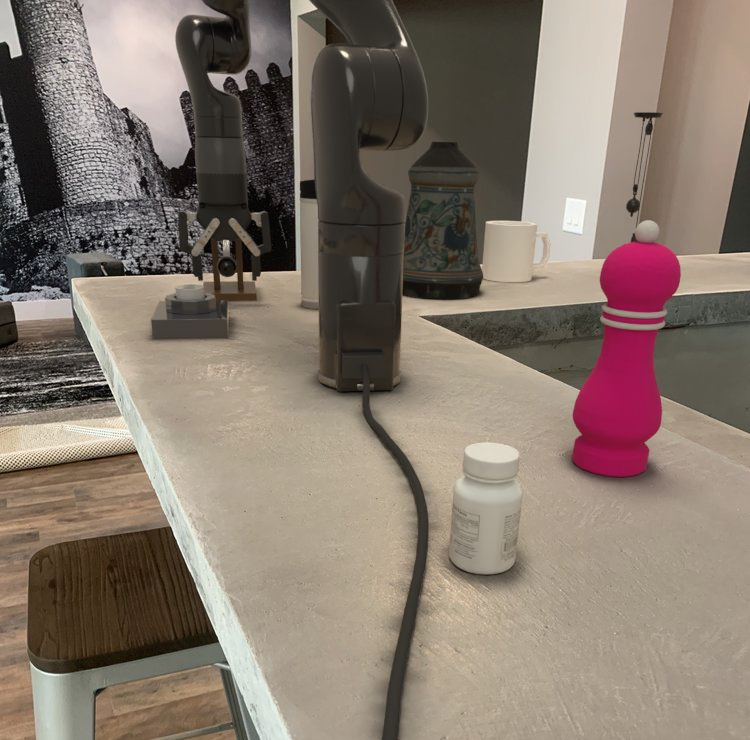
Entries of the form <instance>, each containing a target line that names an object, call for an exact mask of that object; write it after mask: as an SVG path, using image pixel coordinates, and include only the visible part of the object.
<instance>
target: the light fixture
mask: <svg viewBox="0 0 750 740" xmlns="http://www.w3.org/2000/svg"><path fill="white" fill-rule="evenodd" d="M663 114H664V113H663V112H655V111H654V112H651V111H650V112H649V111H648V112H645V111H642V112H641V111H638V112H633V115H634V118H638V119H639V118H640V119H642V127H641V132H640V133H641V134H640V142H639V149H638V154H637V161H636V167H635V170H634V171H635V173H634V177H633V186H632V195H633V197H632V198H630V199H629V200H628V201H627V203H626V205H625V209H626V211H627V212H628V213H629V216H630V218H632V217H633V216H634V214H635V213H637V217H636V224H635V229H636V228H637V226H638V223H639V214H640V208H641V202H642V195H643V190H644V189H643V188H644V182H645V176H646V172H647V171H646V170H647V165H648V164H647V163H648V158H649V153H650V148H651V147H650V146H651V139H652V134H653V130H654V125H653V119H661V117H662V116H663ZM646 120H647V124H646V126H645V127H644V125H645V122H646ZM644 128H645V129H644ZM643 131H644V139H643ZM646 136H649V142H648V148H647V154H646V158H645V159H646V160H645V166H644V171H643V178H642V183H641V189H640V190H641V191H640V196H639V199H637V198H636V196H637V194H638V190H639V182H640V178H641V177H640V176H641V169H642V163H643V155H644V149H645V142H646ZM642 139H643V144H642ZM641 147H642V149H641ZM641 150H642V151H641ZM640 152H641V157H640ZM639 158H640V163H639ZM638 164H640V165H638ZM638 166H639V170H638ZM637 170H638V179H637V183H636V176H637ZM630 242H637V240H636V237H635V232H633V233H632V235H631V238H630Z"/></svg>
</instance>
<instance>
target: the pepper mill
mask: <svg viewBox="0 0 750 740" xmlns="http://www.w3.org/2000/svg"><path fill="white" fill-rule="evenodd" d="M634 233H635V237H636V240H637V242H631V241H630V242H627V243H624V244H621V245H620V246H617V247H616V248H615V249H612V251H611V252H610V253H609V254H608V255H607V257H606V258H605V259H604V261H603V262H602V263H603V264H602V267H601V270H600V274H599V284H600V289H601V291H602V292H603V294H604V296H605V298H606V301H607V302H605V303H603V304H602V305H601V310H602V311H601V312H602V313H601V316H600V317H599V321H600V323H602V324H603V325H604V329H603V340H602V345H601V348H600V353H599V356H598V358H597V361H596V363H595V366H594V367H593V369H592V371H591V373H590V374H589V375H588V377H587V379H586V380H585V382H584V383H583V385H582V387H581V388H580V390H579V392H578V394H577V395H576V396H577V397H576V399H575V401H574V405H573V409H572V421H573V424H574V425H575V428H576V430H578V431H579V433H580V435H578V437H576V438H575V439H574V444H573V450H572V455H571V457H572V461H573V463H574V464H575V465H576V466H577V467H579V468H580V469H582V470H584V471H587V472H590V473H593V474H594V475H595V474H596V475H600V476H604V477H613V478H625V477H634V476H638V475H640V474H643V472H644V471H645V470H647V467H648V461H649V455H650V448H649V446H648V445H647V444H646V443H647V442H648V440H651V438H653V437H654V436H655V435H656V434H657V432H658V431H659V430H660V428H661V425H662V416H663V406H662V405H663V404H662V397H661V394H660V391H659V390H660V389H659V385H658V383H657V379H656V373H655V363H654V355H655V345H656V340H657V336H658V333H659V330H661V329H662V328H664V327H665V326H666V321H665V320H666V317H665V316H667V314H668V310H667V308H665V307H664V306H665V304H666V303H667V302H668V300H669V299H671V298H672V297H673V296H674V295H675V294H676V292H677V291H678V289H679V286H680V283H681V278H682V277H681V276H682V273H681V272H682V271H681V264H680V261H679V258H678V256H677V255H676V254H675V253H674V252H673V251H672V249H670V248H669V247H667V246H665V245H663V244H661V243H657V242H656V241H657V239H658V238H659V235H660V227H659V225H658V224H657V222H655V221H653V220H649V219H646V220H644V221H641V222H640V223H639V224H637V228H636V227H635V231H634Z"/></svg>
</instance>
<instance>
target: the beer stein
mask: <svg viewBox="0 0 750 740" xmlns="http://www.w3.org/2000/svg"><path fill="white" fill-rule="evenodd" d="M407 174H408V181H409V182H410V195H409V198H408V199H409V200H408V206H407V210H406V218H405V245H404V268H403V295H402V296H405V297H406V296H407V297H410V298H418V299H424V300H425V299H427V300H429V299H430V300H464V299H465V300H466V299H470V298H473V297H477V296H478V295H479V293H480V288H481V285H482V282H483V272H482V266H481V264H480V259H479V258H480V257H479V251H478V241H477V240H478V239H477V223H476V203H475V188H476V187H475V186H476V184H477V183H478V181H479V178H480V171H479V170H478V168H477V166H476V165H475V164H474V163H473V162H472V161H471V160H470V159H469V158H468V157H467V156H466V155H465V154H464V153H463V152H462V151H461V150H460V149H459V145H458V142H457V141H456V142H455V141H431V144H430V146H429V148H428V149H427V150H426V151H425V152H424V153H423V154H422V155H421V156H420V157H419V158H418V159H416V161H415V162H414V163H413V164H412V165H411V166H410V168H409V169H408V171H407Z"/></svg>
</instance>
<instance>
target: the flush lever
mask: <svg viewBox="0 0 750 740" xmlns="http://www.w3.org/2000/svg"><path fill="white" fill-rule="evenodd" d="M230 242H231V241H229V240H222V257H219V261H218V263H217V270H218V272H219V273H220V276H222V277H225V278H231V277H233V276H234V275H236V274H237V262H236V260H235V259H234V258H233V257H231V244H230Z"/></svg>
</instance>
